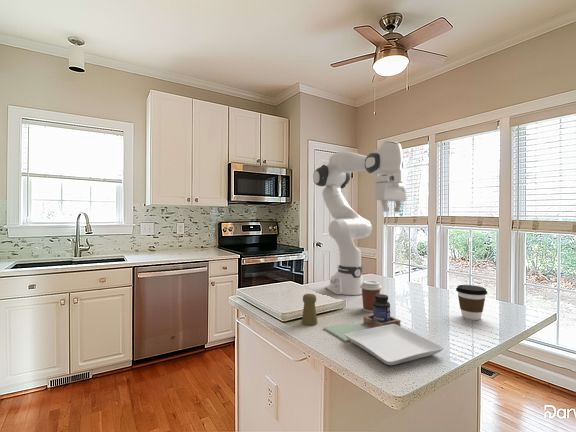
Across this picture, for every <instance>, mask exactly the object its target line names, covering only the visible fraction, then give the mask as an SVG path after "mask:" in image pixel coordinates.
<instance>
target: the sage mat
mask: <svg viewBox="0 0 576 432" xmlns="http://www.w3.org/2000/svg"><path fill="white" fill-rule="evenodd" d="M365 329H368V328H367V327H365V326H362V325H360V324H358V323H356V322H354V321H349V322H348V321H347V322H344V323H338V324H334V325H329V326H324V327H323V330H325V331H327V333H330V334H331V335H334V336H335V337H336V338H338V339H340V340H342V341H343V342H345V343H348V342H351V341H350V340H349V339H348V338H347V337H346V336H345V334H346V333H350V332H355V331H360V330H365Z"/></svg>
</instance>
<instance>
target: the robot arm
mask: <svg viewBox="0 0 576 432" xmlns="http://www.w3.org/2000/svg"><path fill="white" fill-rule="evenodd" d="M402 150H403V149H402V145H401V143H399V142H397V141H391V140H390V141H389V140H387V141H383V142H382V143H381V144H380V147H378V148H377V149H375V151H373V152H370V153H369V154H368V155H363V154H360V153H356V152H352V151H339V152H338V151H337V152H336V153H333V154H332V155H330V157H329V159H328V164H323V165H321V166H320V167H318V168H316V169H315V170H314V172H313V176H312V178H313V182H314V184H315V185H316V186H318V187H324V188H323V190H322V197H323V202H324V204H325V206H326V208H327V209H328V211H329V213H330V215H331V217H332V218H333V219H334V220H331V221H330V223H329V225H328V229H327V230H328V233H329V235H330V237H331V238H332V239H334V241H335V242H336V245H337V246H338V251H339V264H338V265H337V267H336V268H337V272H336V273H334V275H332V276H331V277H330V279H329V284H327V285H326V286H325V288H326V289H327V290H329V291H330V292H332V293H334V294H335V295H346V296H359V295H362V288H360V285H361V284H363V281H364V276H363V274H362V273H363V265H362V252H361V249H360V248H359V247H357V246H356V244H355V241H354V240H361V239H365V238H367V237H369V236H370V235H371V234H372V231H373V226H372V224H371V221H369V220H368V219H367V218H364V217H362V216H361V215H360V214H358V213H357V212H356V211H355V210H354V209H353V208H352V207H351V206H350V204H349V203H348V201H347V200H346V197H345V196H344V194H343V193H342V189H344V188H346V186H347V185H348V184H349V181H350V180H351V178H352V177H351V174H352V173H357V172H364V171H365V172H367V173H368V174H371V175H378V176H376V177H374V183H375V186H374V194H375V197H374V198H375V199H376V201H380V202H381V206H382V210H383V212H385V213H386V212H387V213H388V212H389V210H390V207H389V205H388V203H389V202H394V204H395V207H394V208H393V209H394V210H393V211H394V212H395V213H400V211H401V206H402V202H406V201H407V189H406V185H405V184H404V183H403V169H404V167H405V166H404V164H405V163H404V158H403V151H402Z"/></svg>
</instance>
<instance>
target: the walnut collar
mask: <svg viewBox="0 0 576 432" xmlns="http://www.w3.org/2000/svg"><path fill="white" fill-rule="evenodd" d="M362 317H363V322H362V323H363V324H365V325H367V326H369V327H371V328H374V327H379V326H384V325H390V324H396V325H398V326H400V327H401V319H398V318H395V317H394V316H391V315H390V321H388V322H384V323H380V322H378V321H376V320H373V314H369V315H364V316H362Z"/></svg>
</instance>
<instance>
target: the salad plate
mask: <svg viewBox="0 0 576 432" xmlns="http://www.w3.org/2000/svg"><path fill="white" fill-rule="evenodd" d="M345 336H346V337H347V338H348V339H349V340H350V341H349V342H351V343H353V344H354V345H355V346H358V347H359V348H361V349H362V350H364V351H366V352H367V353H369V354H370V355H372V356H373V357H374V358H376V359H378V360H379V361H380V362H381V363H384V364H385V365H387V366H395V365H398V364H399V365H400V364H402V363H407V362H411V361H414V360H418V359H421V358H425V357H429V356H434V355H436V354H438V353H441V352H442V351H443V350H444V346H442V345H440V344H437V343H436V342H434V341H432V340H430V339H428V338H425V337H424V336H421V335H419V334H417V333H416V332H414V331H411V330H409V329H407V328H405V327H403V326H401V325H400V326H398V325H396V324H390V325H384V326H379V327H374V328H373V327H371V328H367V329H365V330H360V331H355V332H350V333H346V334H345Z"/></svg>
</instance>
